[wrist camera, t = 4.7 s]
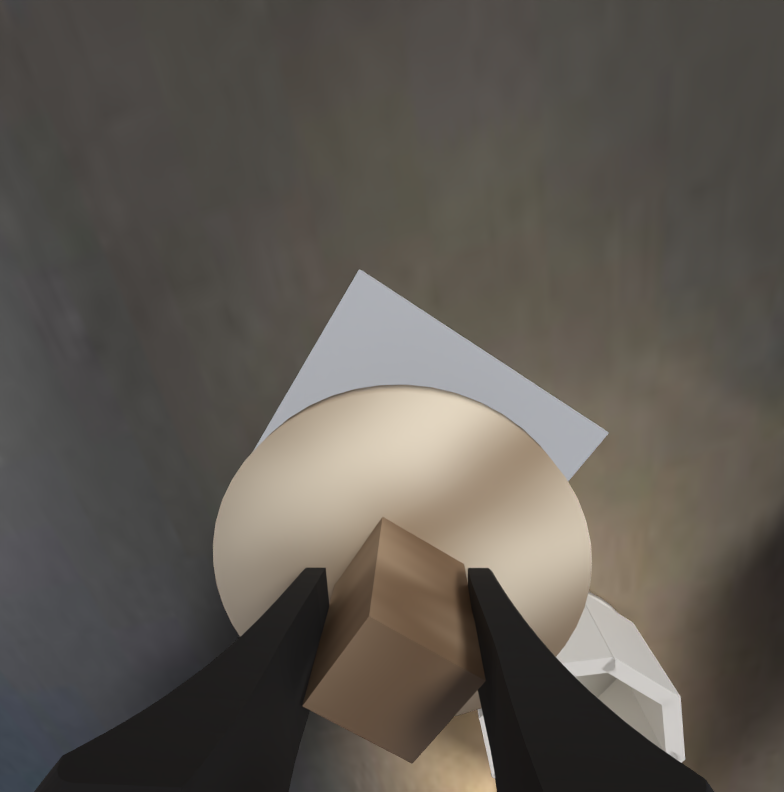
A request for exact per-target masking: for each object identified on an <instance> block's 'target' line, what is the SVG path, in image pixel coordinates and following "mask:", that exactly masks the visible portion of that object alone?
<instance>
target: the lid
mask: <svg viewBox="0 0 784 792" xmlns="http://www.w3.org/2000/svg"><path fill="white" fill-rule="evenodd" d="M213 565H214V571H215V577H216V583H217V587H218V590H219V594H220V597H221V600H222V603H223V606H224V608H225V610H226V612H227V614H228V616H229V619H230V621H231V623H232V625H233V626H234V628H235V629H236V631H237V632H238V634H239V636H240V637H241V636H242V635H243V634H244V633H245V632H246V631H247V630H248V629H249V628H250V627H251V626H252V625H253V624H254V623H255V622H256V621H257V620H258V619H259V618H260V617H261V616H262V615H263V614H264V613H265V612H266V611H267V610H268V609H269V607H270V606H271V605H272V604H273V603H274V602H275V601H276V600H277V599H278V598H279V597H280V596H281V595H282V593H283V592H284V591H285V590H286V589H287V588H288V587H289V586H290V584H291V583H292V582H293V581H294V580H295V579H296V578H297V577H298V575H299V574H300V573H301V572H302V571H303V570H304V569H305V568H326V575H327V586H328V596H329V610H328V613H327V617H326V620H325V624H324V628H323V631H322V635H321V638H320V642H319V645H318V649H317V653H316V657H315V660H314V664H313V668H312V672H311V675H310V679H309V683H308V687H307V690H306V694H305V698H304V702H303V705H302V706H303V707H305V708H307V709H309V710H310V711H312V712H314V713H316V714H318V715H320V716H322V717H324V718H326V719H328V720H330V721H332V722H333V723H335V724H337V725H339V726H341V727H343V728H345V729H347V730H349V731H351V732H353V733H355V734H356V735H358V736H360V737H362V738H364V739H366V740H368V741H370V742H372V743H374V744H376V745H378V746H379V747H381V748H383V749H385V750H387V751H389V752H391V753H393V754H395V755H397V756H399V757H400V758H402V759H404V760H406V761H408V762H410V763H413V762H414V761H415V760H416V759H417V758H418V757H419V755H420V754H421V753H422V752H423V751H424V750H425V749H426V748H427V746H428V745H429V744H430V743H431V742H432V741H433V740H434V739H435V737H436V736H437V735H438V734H439V733H440V732H441V731H442V730H443V728H444V727H445V726H446V725H447V724H448V723H449V722H450V721H451V719H452V718H453V717H454V716H457V715H461V714H464V713H468V712H471V711H474V710H478V709H481V703H480V699H479V694H478V689H479V688H480V687H481V686H482V685H483V683H484V682H485V681H486V680H485V674H484V669H483V663H482V658H481V653H480V647H479V642H478V636H477V631H476V625H475V621H474V617H473V613H472V608H471V602H470V596H469V590H468V568H489V569H490V570H491V571H492V572H493V573H494V575H495V577H496V579H497V580H498V582H499V584H500V585H501V587H502V588H503V590H504V591H505V593H506V594H507V596H508V597H509V599H510V600H511V602H512V603H513V604H514V606H515V607H516V609H517V610H518V611H519V613H520V614H521V615H522V617H523V618H524V619H525V621H526V622H527V623H528V625H529V626H530V627H531V628H532V630H533V631H534V632H535V633H536V635H537V636H538V637H539V638H540V639H541V641H542V642H543V643H544V644H545V645H546V646H547V648H548V649H549V650H550V651H551V652H552V653H553V654H554V656H555V657H556V656H557V655H558V654H559V653H560V651H561V650H562V649H563V648H564V646H565V645H566V643H567V642H568V640H569V638H570V637H571V635H572V633H573V632H574V630H575V629H576V627H577V624H578V622H579V620H580V617H581V615H582V612H583V610H584V608H585V604H586V600H587V596H588V592H589V588H590V581H591V571H592V555H591V541H590V537H589V532H588V527H587V523H586V519H585V517H584V514H583V511H582V509H581V506H580V504H579V501H578V498H577V497H576V495H575V493H574V491H573V490H572V488H571V486H570V484H569V483H568V481H567V479H566V477H565V476H564V475H563V473H562V472H561V471H560V470H559V468H558V467H557V466H556V465H555V463H554V462H553V461H552V459H551V458H550V457H549V456H548V454H547V453H546V452H545V451H544V450H543V448H542V447H541V446H540V445H539V444H538V443H537V442H536V441H535V440H534V439H533V438H532V437H531V436H530V435H529V434H528V433H527V432H526V431H525V430H524V429H523V428H521V427H520V426H518V425H517V424H516V423H514V422H513V421H512V420H510V419H509V418H507V417H506V416H505V415H503V414H502V413H500V412H498V411H496V410H494V409H492V408H490V407H489V406H487V405H485V404H483V403H481V402H479V401H476V400H473V399H471V398H468V397H466V396H463V395H460V394H458V393H454V392H450V391H445V390H441V389H437V388H433V387H425V386H415V385H378V386H371V387H365V388H358V389H354V390H350V391H347V392H343V393H340V394H336V395H333V396H330V397H328V398H326V399H323V400H321V401H319V402H316V403H314V404H312V405H310V406H308V407H306V408H305V409H303V410H301V411H300V412H298V413H297V414H295V415H293V416H292V417H290V418H289V419H287V420H286V421H285V422H284V423H283V424H281V425H280V426H279V427H278V428H276V429H275V430H274V431H273V432H272V433H271V434H270V435H269V436H268V437H267V438H266V439H265V440H264V441H263V442H262V443H261V444H260V445H259V446H258V447H257V448H256V449H255V450H254V451H253V452H252V454H251V455H250V456H249V457H248V458H247V459H246V460H245V461H244V463H243V464H242V466H241V467H240V469H239V470H238V472H237V473H236V475H235V476H234V478H233V479H232V481H231V483H230V485H229V487H228V489H227V491H226V494H225V496H224V498H223V500H222V503H221V506H220V510H219V513H218V516H217V520H216V525H215V532H214V540H213Z"/></svg>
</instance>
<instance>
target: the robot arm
mask: <svg viewBox="0 0 784 792" xmlns="http://www.w3.org/2000/svg"><path fill="white" fill-rule="evenodd" d="M468 590H469V596H470V602H471V608H472V613H473V617H474V621H475V625H476V631H477V636H478V642H479V647H480V653H481V658H482V663H483V669H484V674H485V680H486V681H485V682H484V683H483V685H482V686H481V687H480V688H479V689H478V694H479V699H480V703H481V708H482V713H483V717H484V722H485V727H486V731H487V736H488V741H489V745H490V750H491V756H492V761H493V767H494V773H495V780H496V788H497V792H714V791H713V789H712V788H711V787H710V785H709V784H708V782H707V781H706V780H705V779H704V778H703V777H701V776H700V775H698V774H697V773H695V772H694V771H692V770H691V769H690V768H688V767H687V766H685V765H684V764H682V763H681V762H679V761H678V760H676V759H675V758H674V757H672V756H671V755H669V754H668V753H666V752H665V751H663V750H662V749H660V748H659V747H658V746H656V745H655V744H653V743H652V742H651V741H649V740H648V739H647V738H646V737H644V736H643V735H642V734H640V733H639V732H638V731H637V730H635V729H634V728H633V727H631V726H630V725H629V724H627V723H626V722H625V721H624V720H622V719H621V718H620V717H619V716H618V715H617V714H615V713H614V712H613V711H612V710H611V709H610V708H608V707H607V706H606V705H605V704H604V703H603V702H602V701H600V700H599V699H598V698H597V697H596V696H595V695H593V694H592V693H591V692H590V691H589V690H588V689H587V688H586V687H585V686H584V685H583V684H582V683H581V682H580V681H579V680H578V679H577V678H576V677H575V676H574V675H573V674H572V673H571V672H570V671H569V670H568V669H567V668H566V667H565V666H564V665H563V664H562V663H561V662H560V661H559V660H558V659H557V658H556V657H555V656H554V654H553V653H552V652H551V651H550V650H549V649H548V648H547V646H546V645H545V644H544V643H543V642H542V641H541V639H540V638H539V637H538V636H537V635H536V633H535V632H534V631H533V630H532V628H531V627H530V626H529V625H528V623H527V622H526V621H525V619H524V618H523V617H522V615H521V614H520V613H519V611H518V610H517V609H516V607H515V606H514V604H513V603H512V602H511V600H510V599H509V597H508V596H507V594H506V593H505V591H504V590H503V588H502V587H501V585H500V584H499V582H498V580H497V579H496V577H495V575H494V573H493V572H492V571H491V570H490V569H489V568H468ZM328 610H329V596H328V586H327V575H326V568H305V569H304V570H303V571H302V572H301V573H300V574H299V575H298V577H297V578H296V579H295V580H294V581H293V582H292V583H291V584H290V586H289V587H288V588H287V589H286V590H285V591H284V592H283V593H282V595H281V596H280V597H279V598H278V599H277V600H276V601H275V602H274V603H273V604H272V605H271V606H270V607H269V609H268V610H267V611H266V612H265V613H264V614H263V615H262V616H261V617H260V618H259V619H258V620H257V621H256V622H255V623H254V624H253V625H252V626H251V627H250V628H249V629H248V630H247V631H246V632H245V633H244V634H243V635H242V636H241V637H240V638H238V639H237V640H236V641H235V642H234V643H233V644H232V645H231V646H230V647H229V648H228V649H226V650H225V651H224V652H223V653H222V654H220V655H219V656H218V657H217V658H216V659H214V660H213V661H212V662H211V663H210V664H208V665H207V666H206V667H205V668H203V669H202V670H201V671H199V672H198V673H197V674H195V675H194V676H192V677H191V678H190V679H188V680H187V681H186V682H184V683H183V684H181V685H180V686H179V687H177V688H176V689H175V690H173V691H172V692H170V693H169V694H168V695H166V696H165V697H163V698H162V699H160V700H159V701H157V702H155V703H154V704H152V705H151V706H149V707H148V708H146V709H145V710H143V711H141V712H140V713H138V714H137V715H135V716H133V717H132V718H130V719H128V720H127V721H125V722H123V723H122V724H120V725H118V726H117V727H115V728H113V729H111V730H109V731H108V732H106V733H104V734H102V735H100V736H98V737H97V738H95V739H93V740H91V741H89V742H87V743H86V744H84V745H82V746H80V747H78V748H76V749H75V750H73V751H71V752H69V753H67V754H65V755H63V756H62V757H61V758H60V760H59V761H58V762H57V763H56V764H55V766H54V767H53V768H52V769H51V771H50V772H49V773H48V775H47V776H46V777H45V778H44V780H43V781H42V782H41V784H40V785H39V786H38V787H37V789H36V790H35V791H34V792H288V791H289V787H290V782H291V777H292V773H293V768H294V763H295V760H296V756H297V752H298V748H299V744H300V741H301V738H302V734H303V731H304V728H305V724H306V721H307V718H308V714H309V711H310V710H309V709H307V708H305V707H303V706H302V705H303V702H304V698H305V694H306V690H307V687H308V683H309V679H310V675H311V672H312V668H313V664H314V660H315V657H316V653H317V649H318V645H319V642H320V638H321V635H322V631H323V628H324V624H325V620H326V617H327V613H328Z"/></svg>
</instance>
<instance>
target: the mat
mask: <svg viewBox="0 0 784 792" xmlns="http://www.w3.org/2000/svg"><path fill="white" fill-rule="evenodd" d="M378 385H415V386H425V387H433V388H437V389H441V390H445V391H450V392H454V393H458V394H460V395H463V396H466V397H468V398H471V399H473V400H476V401H479V402H481V403H483V404H485V405H487V406H489V407H490V408H492V409H494V410H496V411H498V412H500V413H502V414H503V415H505V416H506V417H507V418H509V419H510V420H512V421H513V422H514V423H516V424H517V425H518V426H520V427H521V428H523V429H524V430H525V431H526V432H527V433H528V434H529V435H530V436H531V437H532V438H533V439H534V440H535V441H536V442H537V443H538V444H539V445H540V446H541V447H542V448H543V450H544V451H545V452H546V453H547V454H548V456H549V457H550V458H551V459H552V461H553V462H554V463H555V465H556V466H557V467H558V468H559V470H560V471H561V472H562V473H563V475H564V476H565V477H566V479H567V481H569V480H570V478H571V477H572V476H573V475H574V474H575V473H576V471H577V470H578V469H579V468H580V467H581V465H582V464H583V463H584V462H585V461H586V459H587V458H588V457H589V456H590V455H591V453H592V452H593V451H594V450H595V449H596V448H597V446H598V445H599V444H600V443H601V442H602V440H603V439H604V438H605V437H606V436H607V434H608V432H607V431H606V430H604V429H603V428H601V427H600V426H598V425H597V424H595V423H594V422H592V421H591V420H589V419H588V418H586V417H584V416H583V415H581V414H580V413H578V412H577V411H575V410H574V409H572V408H571V407H569V406H568V405H566V404H565V403H563V402H562V401H560V400H559V399H557V398H555V397H554V396H552V395H551V394H549V393H548V392H546V391H545V390H543V389H542V388H540V387H539V386H537V385H536V384H534V383H533V382H531V381H530V380H528V379H527V378H525V377H523V376H522V375H520V374H519V373H517V372H516V371H514V370H513V369H511V368H510V367H508V366H507V365H505V364H504V363H502V362H501V361H499V360H498V359H496V358H494V357H493V356H491V355H490V354H488V353H487V352H485V351H484V350H482V349H481V348H479V347H478V346H476V345H475V344H473V343H472V342H470V341H469V340H467V339H466V338H464V337H462V336H461V335H459V334H458V333H456V332H455V331H453V330H452V329H450V328H449V327H447V326H446V325H444V324H443V323H441V322H440V321H438V320H437V319H435V318H433V317H432V316H430V315H429V314H427V313H426V312H424V311H423V310H421V309H420V308H418V307H417V306H415V305H414V304H412V303H411V302H409V301H408V300H406V299H404V298H403V297H401V296H400V295H398V294H397V293H395V292H394V291H392V290H391V289H389V288H388V287H386V286H385V285H383V284H382V283H380V282H379V281H377V280H376V279H374V278H372V277H371V276H369V275H368V274H366V273H365V272H363V271H362V270H360V269H359V271H358V272H357V274H356V276H355V277H354V279H353V281H352V283H351V284H350V286H349V288H348V290H347V291H346V293H345V295H344V296H343V298H342V300H341V302H340V303H339V305H338V307H337V308H336V310H335V312H334V314H333V315H332V317H331V319H330V320H329V322H328V324H327V326H326V327H325V329H324V331H323V332H322V334H321V336H320V338H319V339H318V341H317V343H316V344H315V346H314V348H313V350H312V351H311V353H310V355H309V356H308V358H307V360H306V362H305V363H304V365H303V367H302V368H301V370H300V372H299V374H298V375H297V377H296V379H295V380H294V382H293V384H292V386H291V387H290V389H289V391H288V392H287V394H286V396H285V398H284V399H283V401H282V403H281V405H280V406H279V408H278V410H277V411H276V413H275V415H274V417H273V418H272V420H271V422H270V423H269V425H268V427H267V429H266V430H265V432H264V434H263V435H262V437H261V439H260V441H259V442H258V444H257V446H256V447H255V449H256V448H257V447H258V446H259V445H260V444H261V443H262V442H263V441H264V440H265V439H266V438H267V437H268V436H269V435H270V434H271V433H272V432H273V431H274V430H275V429H276V428H278V427H279V426H280V425H281V424H283V423H284V422H285V421H286V420H287V419H289V418H290V417H292V416H293V415H295V414H297V413H298V412H300V411H301V410H303V409H305V408H306V407H308V406H310V405H312V404H314V403H316V402H319V401H321V400H323V399H326V398H328V397H330V396H333V395H336V394H340V393H343V392H347V391H350V390H354V389H358V388H365V387H371V386H378ZM255 449H254V450H255Z"/></svg>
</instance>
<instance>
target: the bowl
mask: <svg viewBox="0 0 784 792" xmlns="http://www.w3.org/2000/svg"><path fill="white" fill-rule="evenodd" d="M556 658H557V659H558V660H559V661H560V662H561V663H562V664H563V665H564V666H565V667H566V668H567V669H568V670H569V671H570V672H571V673H572V674H573V675H574V676H575V677H576V678H577V679H578V680H579V681H580V682H581V683H582V684H583V685H584V686H585V687H586V688H587V689H588V690H589V691H590V692H591V693H592V694H593V695H595V696H596V697H597V698H598V699H599V700H600V701H602V702H603V703H604V704H605V705H606V706H607V707H608V708H610V709H611V710H612V711H613V712H614V713H615V714H617V715H618V716H619V717H620V718H621V719H622V720H624V721H625V722H626V723H627V724H629V725H630V726H631V727H633V728H634V729H635V730H637V731H638V732H639V733H640V734H642V735H643V736H644V737H646V738H647V739H648V740H649V741H651V742H652V743H653V744H655V745H656V746H658V747H659V748H660V749H662V750H663V751H665V752H666V753H668V754H669V755H671V756H672V757H674V758H675V759H676V760H678V761H679V762H681V763H682V762H683V761H684V760H685V750H684V737H683V723H682V710H681V697H680V695H679V693H678V692H677V690H676V689H675V687H674V686H673V684H672V683H671V681H670V679H669V678H668V676H667V675H666V673H665V672H664V670H663V669H662V667H661V665H660V664H659V662H658V661H657V659H656V658H655V656H654V654H653V653H652V651H651V650H650V648H649V647H648V645H647V644H646V642H645V640H644V639H643V637H642V636H641V634H640V633H639V631H638V630H637V628H636V626H635V625H634V623H633V622H631V621H630V620H628V619H626V618H625V617H623V616H621V615H620V614H618V612H617V611H616V610H615V609H614V608H613V607H612V606H611V605H610V604H609V603H608V602H606V601H605V600H603V599H602V598H601V597H599V596H597V595H595V594H593V593H591V592H588V596H587V600H586V604H585V608H584V610H583V612H582V615H581V617H580V620H579V622H578V624H577V627H576V629H575V630H574V632H573V633H572V635H571V637H570V638H569V640H568V642H567V643H566V645H565V646H564V648H563V649H562V650H561V651H560V653H559V654H558V655H557V656H556ZM478 716H479V720H480V724H481V729H482V733H483V738H484V742H485V747H486V751H487V756H488V760H489V765H490V769H491V775H492V777H493V778H495V773H494V767H493V761H492V756H491V750H490V745H489V741H488V736H487V731H486V727H485V722H484V717H483V713H482V708H481V709H478Z"/></svg>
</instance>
